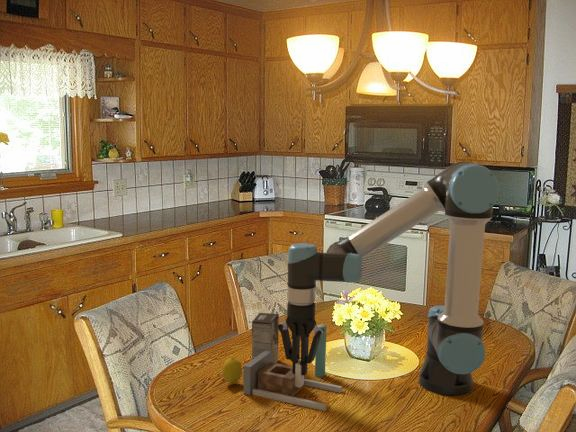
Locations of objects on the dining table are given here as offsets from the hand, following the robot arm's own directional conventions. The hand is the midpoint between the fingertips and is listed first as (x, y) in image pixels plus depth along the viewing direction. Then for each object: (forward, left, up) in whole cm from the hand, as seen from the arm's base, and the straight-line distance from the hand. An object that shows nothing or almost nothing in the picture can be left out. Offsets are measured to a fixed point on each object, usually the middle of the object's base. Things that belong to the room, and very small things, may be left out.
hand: (299, 385), depth 166 cm
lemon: (+21, +1, -4) cm, 21 cm away
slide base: (+2, 0, -3) cm, 4 cm away
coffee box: (+18, -14, -4) cm, 23 cm away
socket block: (+6, 0, -2) cm, 6 cm away
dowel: (0, -14, -3) cm, 14 cm away
